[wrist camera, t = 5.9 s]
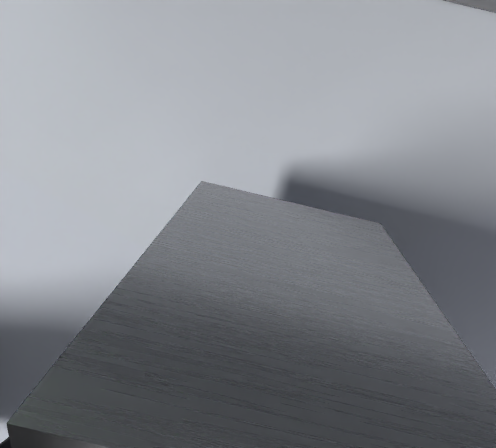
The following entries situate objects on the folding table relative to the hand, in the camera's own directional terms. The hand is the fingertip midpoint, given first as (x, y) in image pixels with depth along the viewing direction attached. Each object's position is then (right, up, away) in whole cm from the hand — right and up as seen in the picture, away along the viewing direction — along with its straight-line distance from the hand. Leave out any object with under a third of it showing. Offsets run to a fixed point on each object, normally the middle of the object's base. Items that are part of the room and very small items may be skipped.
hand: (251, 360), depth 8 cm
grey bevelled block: (0, +1, +1) cm, 1 cm away
